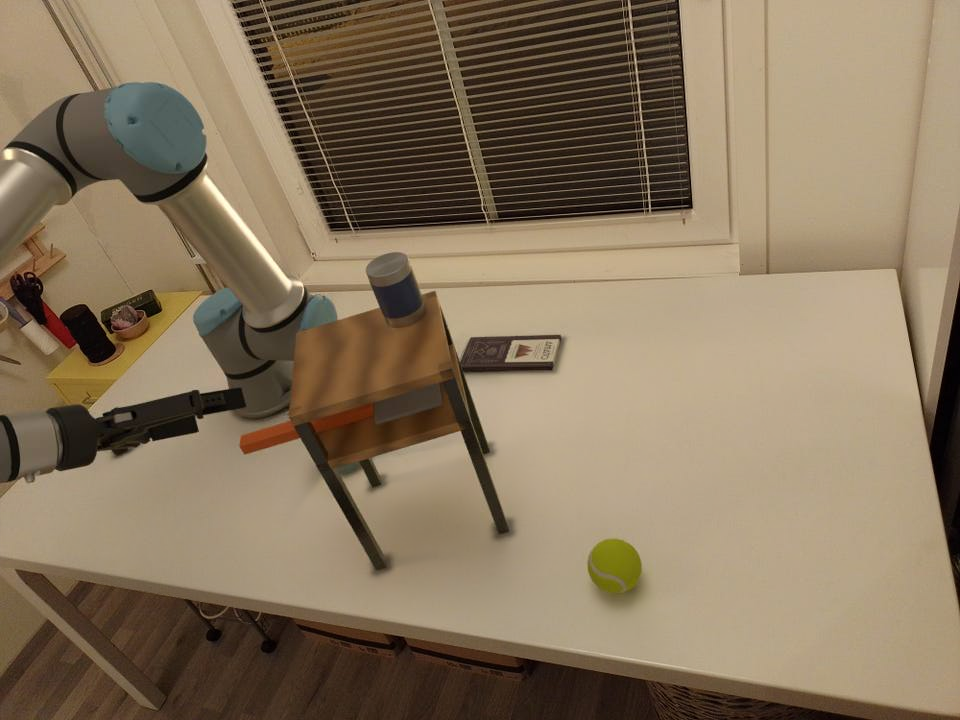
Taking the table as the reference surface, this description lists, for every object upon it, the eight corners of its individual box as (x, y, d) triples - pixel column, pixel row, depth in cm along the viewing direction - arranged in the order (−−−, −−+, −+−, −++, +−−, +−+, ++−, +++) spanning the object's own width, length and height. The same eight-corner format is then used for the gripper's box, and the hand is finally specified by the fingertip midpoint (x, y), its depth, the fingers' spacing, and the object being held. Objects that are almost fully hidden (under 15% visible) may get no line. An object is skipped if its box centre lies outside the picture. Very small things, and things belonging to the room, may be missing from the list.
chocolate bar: (470, 337, 138) (560, 334, 131) (471, 341, 138) (561, 338, 132) (457, 367, 131) (551, 366, 125) (459, 371, 132) (552, 370, 125)
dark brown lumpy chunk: (128, 430, 144) (119, 419, 142) (129, 450, 138) (120, 439, 136) (106, 441, 143) (97, 429, 141) (106, 461, 137) (96, 450, 135)
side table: (376, 570, 101) (288, 417, 82) (371, 480, 115) (296, 332, 97) (509, 531, 101) (451, 368, 82) (488, 445, 115) (435, 290, 96)
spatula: (242, 465, 91) (237, 456, 90) (247, 434, 95) (242, 425, 95) (442, 405, 90) (439, 396, 89) (437, 377, 95) (434, 368, 94)
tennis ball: (586, 599, 89) (577, 568, 85) (597, 554, 94) (590, 524, 90) (639, 609, 87) (632, 578, 83) (648, 563, 91) (643, 531, 87)
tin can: (386, 332, 91) (365, 281, 86) (384, 309, 96) (364, 259, 91) (428, 320, 91) (410, 268, 86) (424, 297, 95) (406, 246, 91)
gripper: (24, 492, 89) (184, 456, 105) (97, 447, 73) (272, 413, 90) (11, 435, 90) (171, 408, 106) (80, 378, 74) (256, 357, 91)
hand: (218, 410), depth 98 cm, fingers open, 13 cm apart
